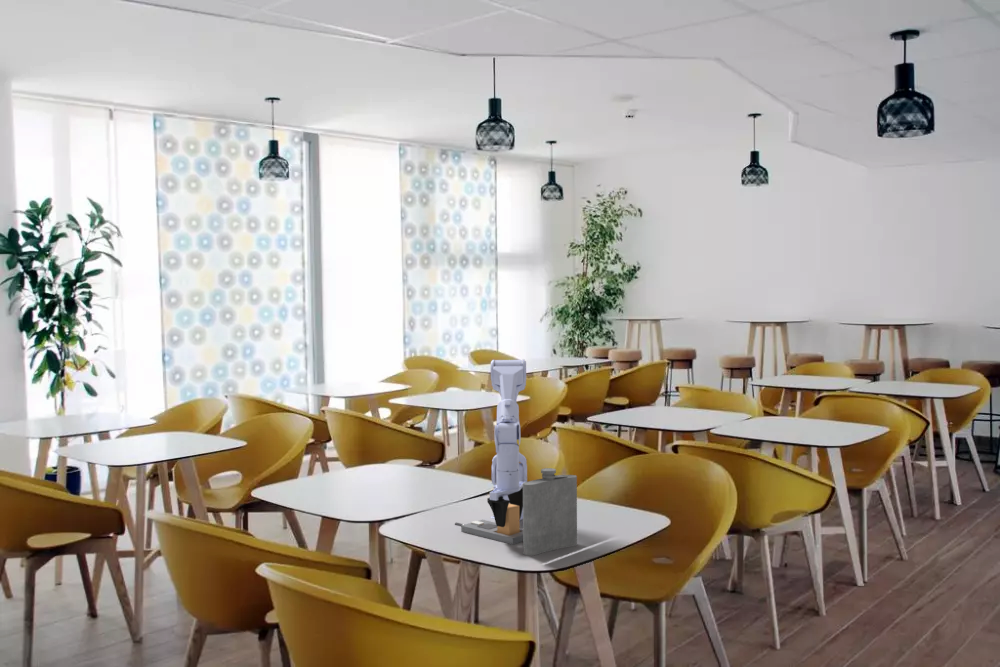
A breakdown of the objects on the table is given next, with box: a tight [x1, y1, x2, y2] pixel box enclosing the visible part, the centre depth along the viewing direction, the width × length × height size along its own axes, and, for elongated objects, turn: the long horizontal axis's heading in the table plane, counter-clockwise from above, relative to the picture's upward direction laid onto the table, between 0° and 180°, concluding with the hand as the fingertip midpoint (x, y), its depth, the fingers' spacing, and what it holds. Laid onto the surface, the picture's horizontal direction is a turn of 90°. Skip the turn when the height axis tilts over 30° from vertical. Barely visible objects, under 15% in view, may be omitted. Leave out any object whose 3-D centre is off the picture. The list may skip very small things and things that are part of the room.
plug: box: [497, 504, 521, 536], centre depth 227 cm, size 4×4×8 cm
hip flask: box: [522, 467, 578, 557], centre depth 217 cm, size 16×4×20 cm, turn 126°
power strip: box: [454, 519, 523, 545], centre depth 232 cm, size 8×24×2 cm, turn 47°
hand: (508, 522), depth 227 cm, fingers open, 7 cm apart
